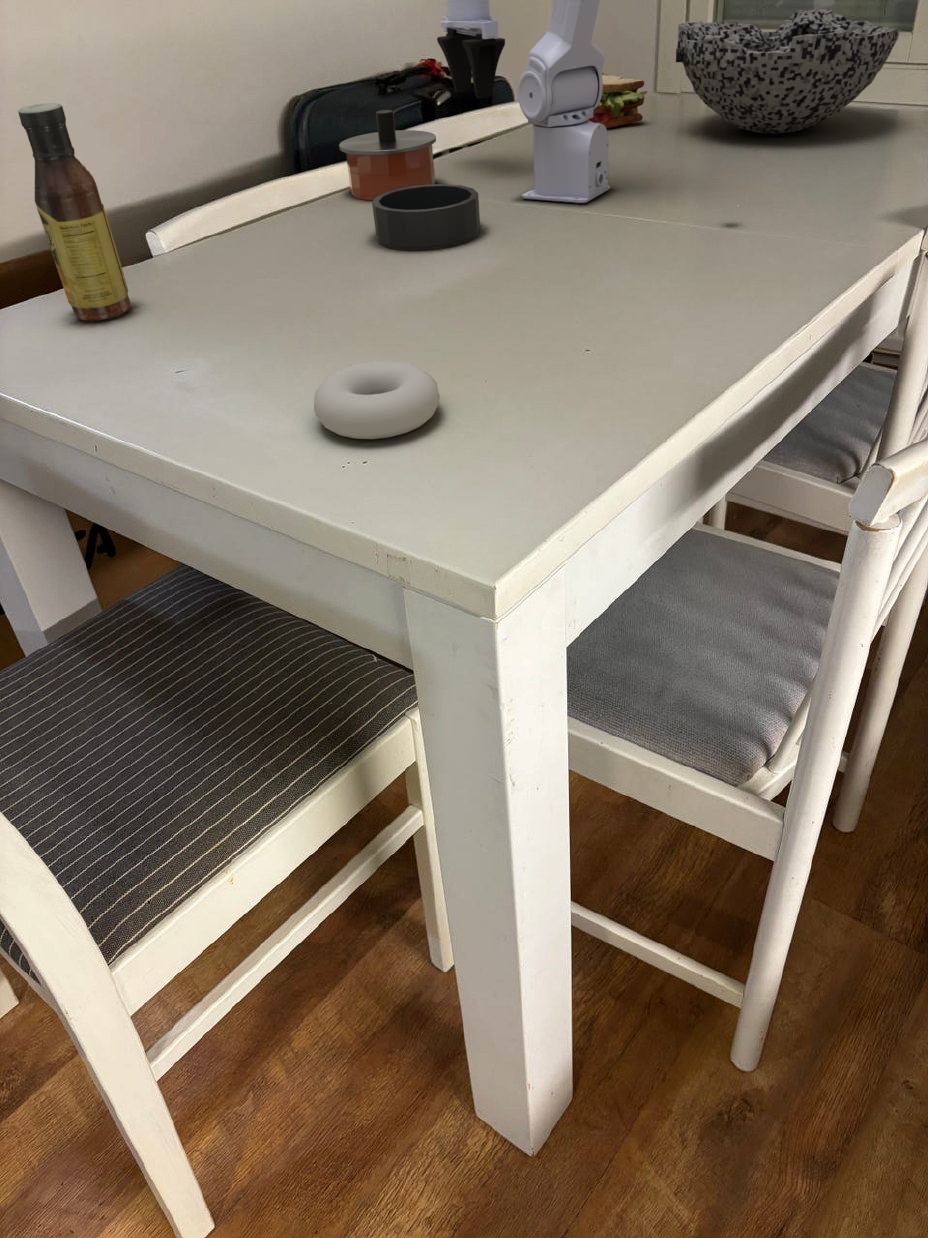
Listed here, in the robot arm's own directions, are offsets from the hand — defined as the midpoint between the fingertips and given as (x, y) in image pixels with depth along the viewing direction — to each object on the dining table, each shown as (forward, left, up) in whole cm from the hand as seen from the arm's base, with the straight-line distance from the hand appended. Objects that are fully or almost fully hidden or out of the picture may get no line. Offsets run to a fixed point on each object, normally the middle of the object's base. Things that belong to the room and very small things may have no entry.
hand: (473, 94), depth 135 cm
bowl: (-33, -37, -11) cm, 51 cm away
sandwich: (-2, -35, -6) cm, 35 cm away
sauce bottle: (+7, +66, -11) cm, 67 cm away
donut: (-36, +75, -11) cm, 84 cm away
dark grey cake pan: (-11, +30, -10) cm, 34 cm away
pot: (+7, +12, -10) cm, 17 cm away
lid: (+7, +12, -4) cm, 15 cm away
